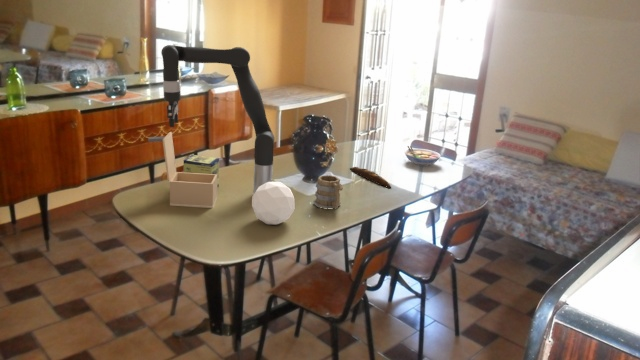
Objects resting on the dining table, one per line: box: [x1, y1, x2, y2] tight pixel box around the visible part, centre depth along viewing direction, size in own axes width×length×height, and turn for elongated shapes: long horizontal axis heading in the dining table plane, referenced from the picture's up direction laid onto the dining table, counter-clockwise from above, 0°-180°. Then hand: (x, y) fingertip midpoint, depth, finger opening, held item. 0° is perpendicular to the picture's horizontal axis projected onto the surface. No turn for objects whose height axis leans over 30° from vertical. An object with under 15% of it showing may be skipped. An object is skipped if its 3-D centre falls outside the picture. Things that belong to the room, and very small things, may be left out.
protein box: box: [183, 154, 220, 188], centre depth 286 cm, size 10×16×16 cm
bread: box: [349, 166, 392, 189], centre depth 322 cm, size 38×5×5 cm, turn 35°
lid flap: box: [147, 131, 177, 182], centre depth 263 cm, size 20×14×9 cm
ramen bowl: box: [404, 145, 441, 167], centre depth 356 cm, size 25×23×8 cm
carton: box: [169, 171, 218, 209], centre depth 268 cm, size 20×14×12 cm
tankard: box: [312, 174, 344, 209], centre depth 273 cm, size 20×13×15 cm, turn 23°
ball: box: [251, 181, 296, 226], centre depth 250 cm, size 19×20×20 cm
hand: (173, 124), depth 262 cm, fingers open, 8 cm apart
